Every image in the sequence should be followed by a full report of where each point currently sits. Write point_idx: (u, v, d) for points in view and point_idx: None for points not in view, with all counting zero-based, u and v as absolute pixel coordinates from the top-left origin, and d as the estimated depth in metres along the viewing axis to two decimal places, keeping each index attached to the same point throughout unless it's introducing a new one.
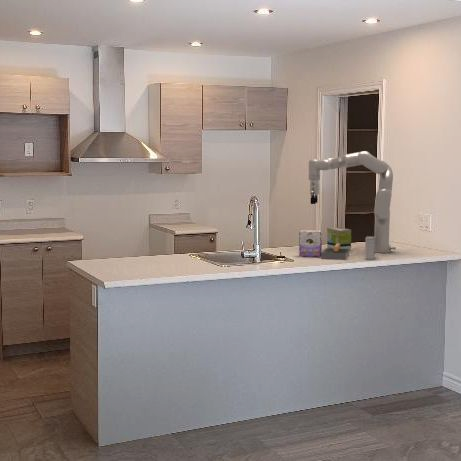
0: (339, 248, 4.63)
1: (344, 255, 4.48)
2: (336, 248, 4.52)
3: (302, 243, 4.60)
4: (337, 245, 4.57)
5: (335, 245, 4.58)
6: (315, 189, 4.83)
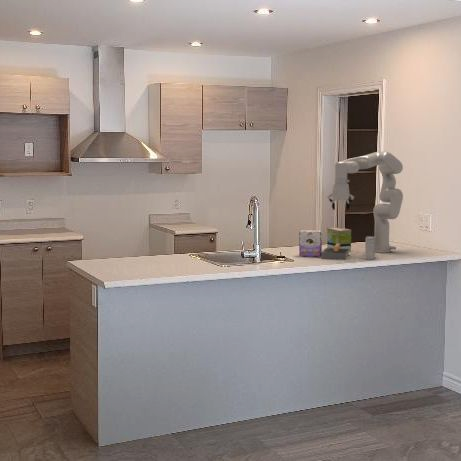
0: (339, 248, 4.63)
1: (344, 255, 4.48)
2: (336, 248, 4.52)
3: (302, 243, 4.60)
4: (337, 245, 4.57)
5: (335, 245, 4.58)
6: None
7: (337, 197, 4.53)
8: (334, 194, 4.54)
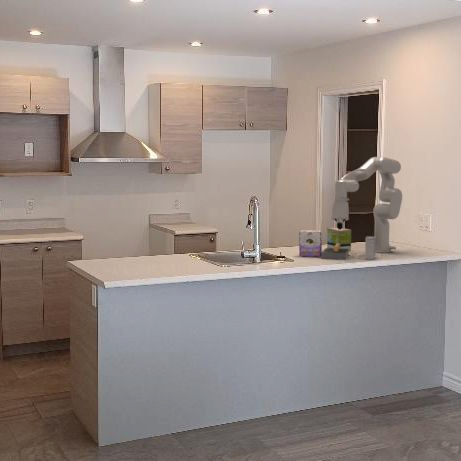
0: (339, 248, 4.63)
1: (344, 255, 4.48)
2: (336, 248, 4.52)
3: (302, 243, 4.60)
4: (337, 245, 4.57)
5: (335, 245, 4.58)
6: (348, 212, 4.56)
7: (336, 215, 4.54)
8: (333, 212, 4.55)
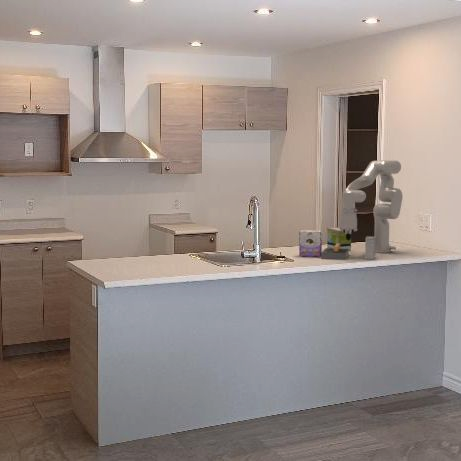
0: (339, 248, 4.63)
1: (344, 255, 4.48)
2: (336, 248, 4.52)
3: (302, 243, 4.60)
4: (337, 245, 4.57)
5: (335, 245, 4.58)
6: None
7: (345, 226, 4.54)
8: (342, 223, 4.54)
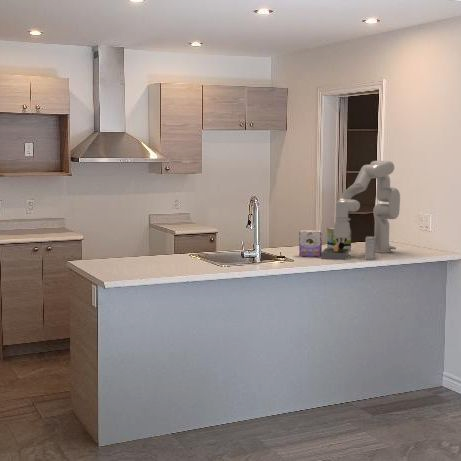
0: (339, 248, 4.63)
1: (344, 255, 4.48)
2: (336, 248, 4.52)
3: (302, 243, 4.60)
4: (336, 245, 4.58)
5: (334, 245, 4.58)
6: None
7: (338, 235, 4.56)
8: (335, 232, 4.56)
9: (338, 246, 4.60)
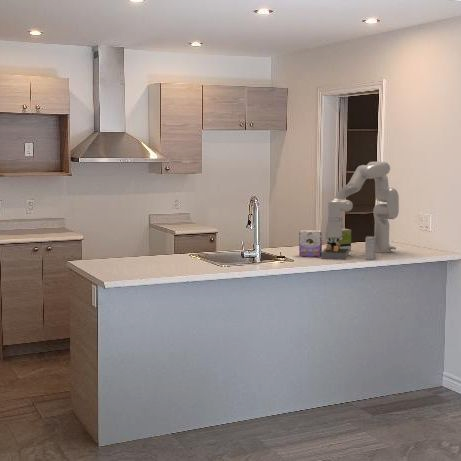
0: (339, 248, 4.63)
1: (344, 255, 4.48)
2: (336, 248, 4.52)
3: (302, 243, 4.60)
4: (329, 245, 4.59)
5: (327, 245, 4.59)
6: None
7: (330, 235, 4.57)
8: (327, 232, 4.57)
9: (330, 246, 4.61)
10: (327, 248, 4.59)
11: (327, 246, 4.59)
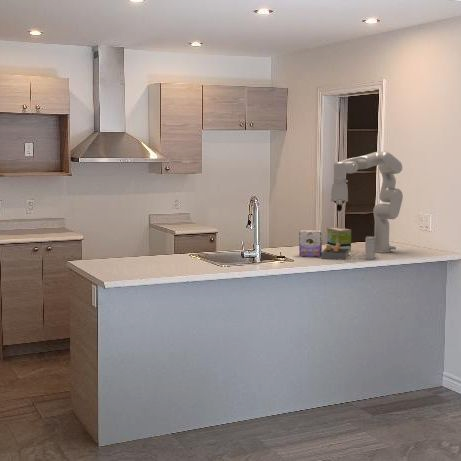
0: (339, 248, 4.63)
1: (344, 255, 4.48)
2: (336, 248, 4.52)
3: (302, 243, 4.60)
4: (328, 245, 4.59)
5: (326, 245, 4.59)
6: None
7: (336, 197, 4.54)
8: (333, 194, 4.54)
9: (330, 246, 4.61)
10: (327, 248, 4.59)
11: (327, 246, 4.59)
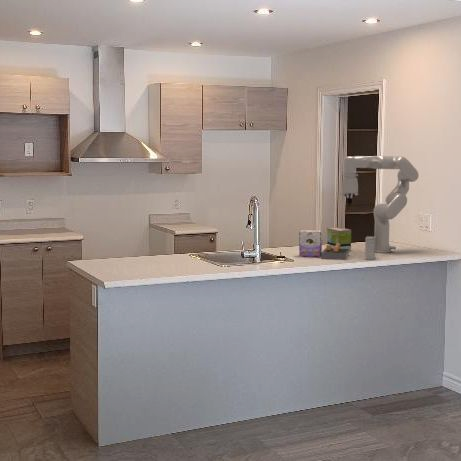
0: (339, 248, 4.63)
1: (344, 255, 4.48)
2: (336, 248, 4.52)
3: (302, 243, 4.60)
4: (328, 245, 4.59)
5: (326, 245, 4.59)
6: None
7: (346, 191, 4.67)
8: (343, 188, 4.67)
9: (330, 246, 4.61)
10: (327, 248, 4.59)
11: (327, 246, 4.59)
